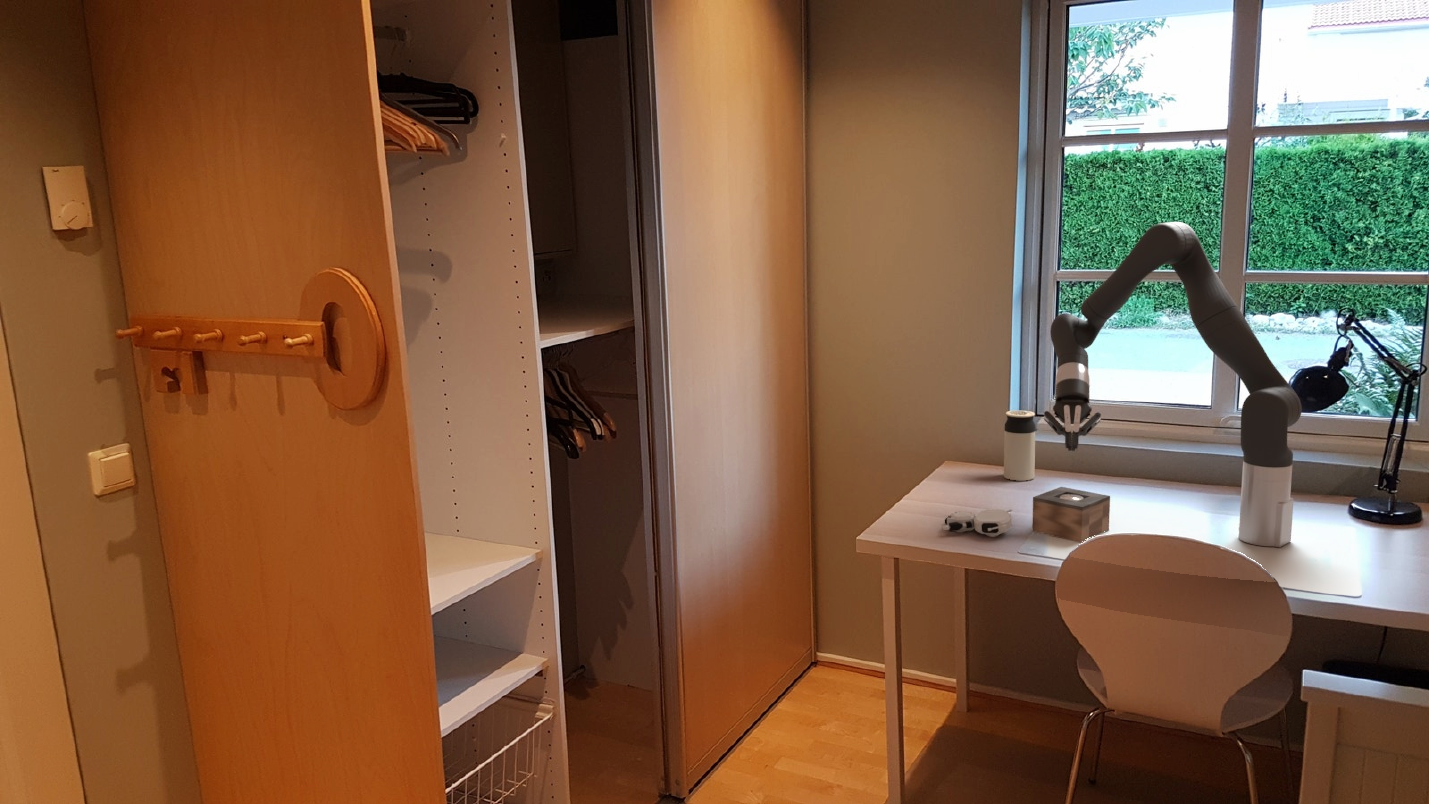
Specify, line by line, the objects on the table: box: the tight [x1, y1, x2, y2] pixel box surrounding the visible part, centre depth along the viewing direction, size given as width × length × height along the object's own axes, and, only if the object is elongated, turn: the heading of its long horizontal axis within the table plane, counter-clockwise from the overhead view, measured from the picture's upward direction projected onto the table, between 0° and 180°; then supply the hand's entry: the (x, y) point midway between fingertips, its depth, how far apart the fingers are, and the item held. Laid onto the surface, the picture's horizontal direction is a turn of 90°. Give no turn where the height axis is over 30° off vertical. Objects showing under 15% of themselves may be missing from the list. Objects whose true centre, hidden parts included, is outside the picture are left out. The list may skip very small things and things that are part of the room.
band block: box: [1031, 486, 1111, 543], centre depth 229 cm, size 12×12×8 cm
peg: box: [1060, 494, 1083, 502], centre depth 229 cm, size 5×5×8 cm
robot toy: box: [941, 509, 1013, 538], centre depth 231 cm, size 12×4×15 cm
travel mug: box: [1003, 409, 1036, 482], centre depth 275 cm, size 8×8×18 cm
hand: (1071, 448), depth 230 cm, fingers closed
